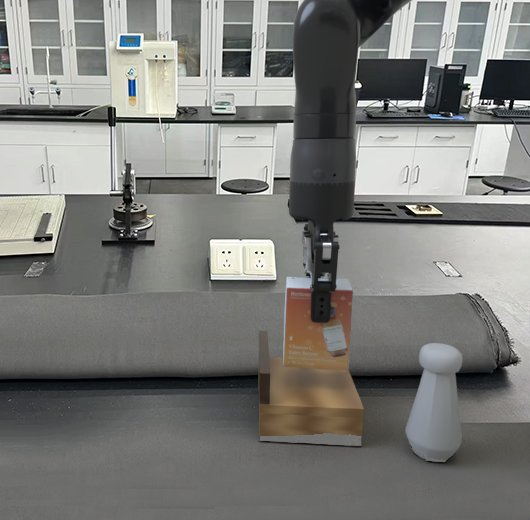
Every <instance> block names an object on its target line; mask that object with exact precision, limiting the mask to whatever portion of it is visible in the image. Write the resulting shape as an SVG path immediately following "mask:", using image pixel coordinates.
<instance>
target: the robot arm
mask: <svg viewBox="0 0 530 520" xmlns="http://www.w3.org/2000/svg"><path fill="white" fill-rule="evenodd" d="M412 1H413V0H302V2H301V3H300V5H299V7H298V8H297V10H296V13H295V15H294V20H293V25H292V57H293V58H292V59H293V60H292V61H293V74H294V75H293V77H294V87H295V95H294V105H293V128H292V129H293V133H292V145H291V153H290V160H289V194H288V195H289V197H288V214H289V216H290V217H291V218H292V219H295V220H298V221H299V220H300V221H307V223H304V226H303V230H302V232H301V241H302V244H303V255H302V256H303V262H302V266H303V268H304V270H303V273H304V275H305V278H311V285H310V289H311V315H310V317H311V320H312V322H315V323H327V322H329V321H330V307H331V293H333V292H335V290H336V288H337V285H336V279H337V277H338V274H337V273H338V262H339V250H340V238H339V237H340V236H339V234H336V231H335V230H334V228H335V227H334V223H335V222H336V221H346V220H349V219H351V218H352V217H353V216H354V213H355V210H354V209H355V194H356V193H355V192H356V171H357V150H356V149H357V148H356V130H357V94H356V77H357V69H358V58H359V49H360V48H361V47H362V46H363V45H364V44H365V43H366V42H367V41H368V40H370V39H371V38H372V37H373V36H374V35H375V34H376V33H377V32H378V31H379V30H380V29H381V28H382V27H383V26H384V25H385V24H387V22H388V21H389V20H390V19H392V17H393V16H394V15H396V13H398V12H399V11H400V10H401V9H403V8H404V7H405V6H406V5H408V4H410V3H411V2H412ZM325 276H327V277H326V278H328V281H318V278H325Z"/></svg>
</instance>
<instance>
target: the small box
mask: <svg viewBox="0 0 530 520" xmlns="http://www.w3.org/2000/svg"><path fill="white" fill-rule="evenodd" d="M318 281H328V277H326V278H325V277H321V278H318ZM310 285H311V278H306V277H296V276H286V279H285V291H284V292H285V293H284V316H283V317H284V318H283V344H282V346H283V349H282V352H283V353H282V358H283V366H284V367H300V368H313V369H324V370H333V371H342V372H347V371H348V370H349V364H350V351H351V350H350V348H351V335H352V334H351V333H352V316H353V315H352V314H353V302H354V301H353V298H354V290H353V287H352V284H351V281H350V279H349V278H347V277H346V278H345V277H344V278H336V285H337V288H336V290H335V292H333V293H331V307H330V321H329V322H327V323H315V322H312V320H311V317H310V315H311V289H310Z"/></svg>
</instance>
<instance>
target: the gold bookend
mask: <svg viewBox="0 0 530 520" xmlns="http://www.w3.org/2000/svg"><path fill="white" fill-rule="evenodd" d="M268 333H269V332H268V330H258V372H257V373H258V374H257V375H258V376H257V377H258V378H257V381H258V382H257V393H258V437H259V436H294V435H314V434H323V433H331V434H338V435H349V434H351V435H356V436H362V437H363V431H364V418H365V407H364V405H363V402H362V400H361V397H360V395H359V393H358V390H357V388H356V384H355V383H354V379H353V377H352V375H351V372H350V371H349V369H348V371H347V372H342V371H333V370H324V369H313V368H300V367H284V366H283V357H272V356H270V348H269V346H270V345H269V334H268Z"/></svg>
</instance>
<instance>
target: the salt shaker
mask: <svg viewBox="0 0 530 520" xmlns="http://www.w3.org/2000/svg"><path fill="white" fill-rule="evenodd" d="M463 360H464V359H463V353H461V351H460V350H459V349H458V348H456V347H455V346H452V345H450V344H446V343H440V342H430V343H426V344H424V345H423V346H421V348H420V349H419V353H418V362H419V365H420V366H421V367H422V368H423V371H422V374H421V377H420V381H419V385H418V389H417V392H416V395H415V398H414V400H413V403H412V407H411V411H410V414H409V416H408V420H407V423H406V426H405V435H406V438H407V440H408V443H409V446H410V445H411V446H413V447H414V448H415V449H416V450H417V451H418V452H419V453H421V454H423V455H424V456H425V457H427V458H433V459H437V460H441V459H442V460H447V459H448V458H449V457H451V456H453V455H454V454H455V453H456V452H457V451H458V450H459V449H460V446H461V444H462V442H463V441H462V440H463V436H462V424H461V416H460V407H459V397H458V386H457V376H456V373H459V371H460V370H461V368H462V366H463V362H464V361H463ZM411 446H410V447H411ZM451 458H452V457H451Z"/></svg>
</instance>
